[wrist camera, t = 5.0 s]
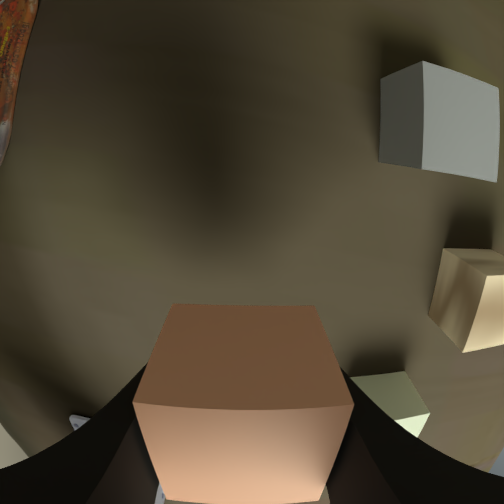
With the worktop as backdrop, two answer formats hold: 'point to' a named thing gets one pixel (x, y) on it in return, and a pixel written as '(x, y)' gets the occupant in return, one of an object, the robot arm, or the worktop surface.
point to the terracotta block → (243, 404)
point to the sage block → (396, 399)
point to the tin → (12, 58)
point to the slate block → (440, 122)
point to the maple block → (470, 298)
